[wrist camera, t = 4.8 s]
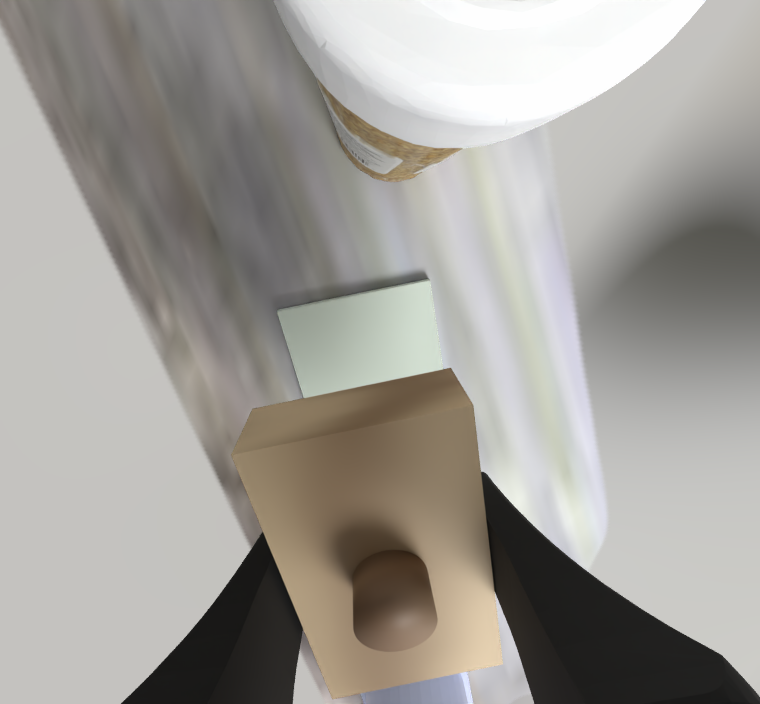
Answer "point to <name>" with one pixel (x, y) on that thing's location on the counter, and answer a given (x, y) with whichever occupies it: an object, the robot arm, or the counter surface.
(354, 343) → the mat
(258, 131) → the counter surface
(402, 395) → the lid
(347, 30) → the sprinkles bottle
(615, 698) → the robot arm
